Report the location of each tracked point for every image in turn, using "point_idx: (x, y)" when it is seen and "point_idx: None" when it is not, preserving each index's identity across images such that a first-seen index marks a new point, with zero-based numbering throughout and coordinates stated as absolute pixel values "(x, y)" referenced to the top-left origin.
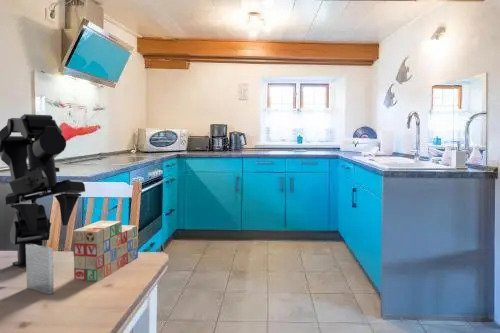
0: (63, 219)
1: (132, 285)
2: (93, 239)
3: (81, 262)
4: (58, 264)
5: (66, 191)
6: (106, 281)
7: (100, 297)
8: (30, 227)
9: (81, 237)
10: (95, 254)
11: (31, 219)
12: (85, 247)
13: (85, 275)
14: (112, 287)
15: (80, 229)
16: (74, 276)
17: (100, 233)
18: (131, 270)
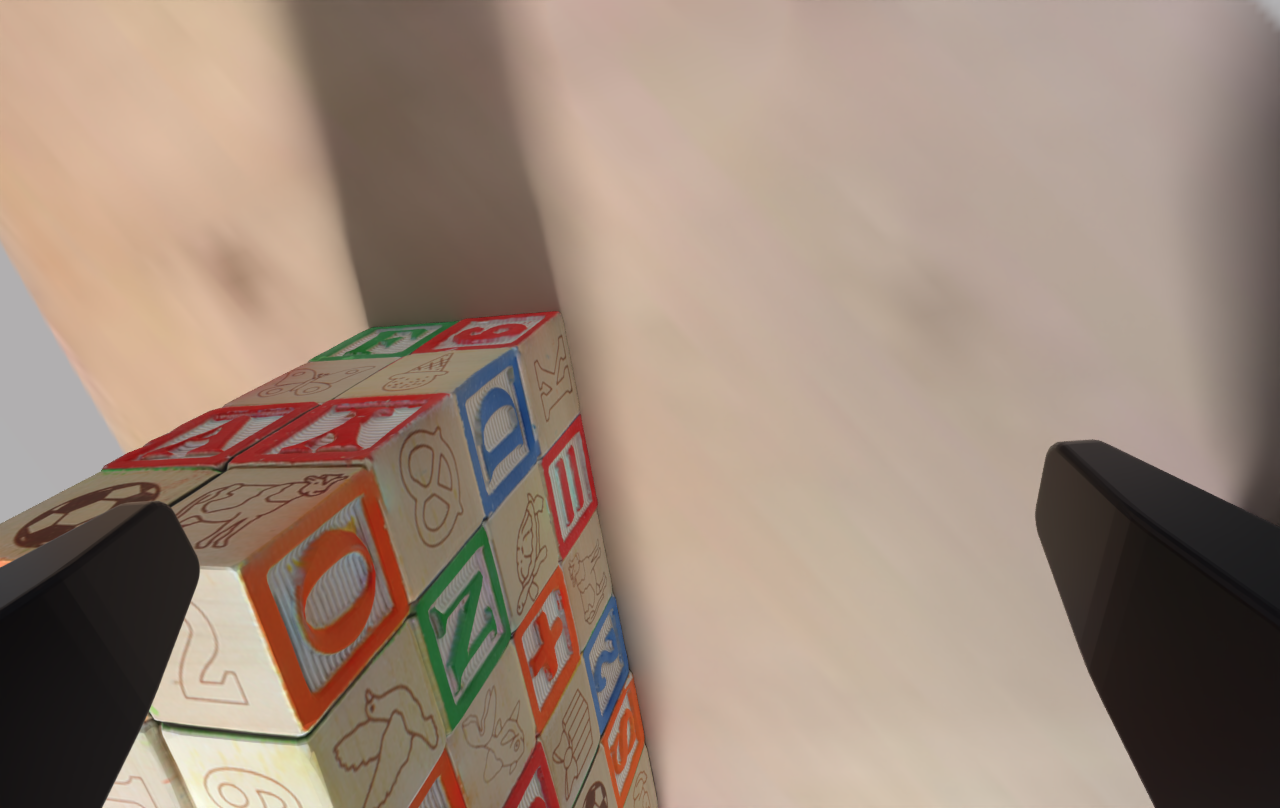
0: (5, 571)
1: (116, 321)
2: (78, 498)
3: (408, 372)
4: (1032, 646)
5: None
6: (314, 345)
7: (81, 23)
8: (1130, 485)
9: (202, 509)
10: (217, 421)
11: (1268, 747)
12: (247, 440)
13: (441, 334)
14: (182, 243)
15: (210, 644)
16: (548, 321)
17: None
18: None
